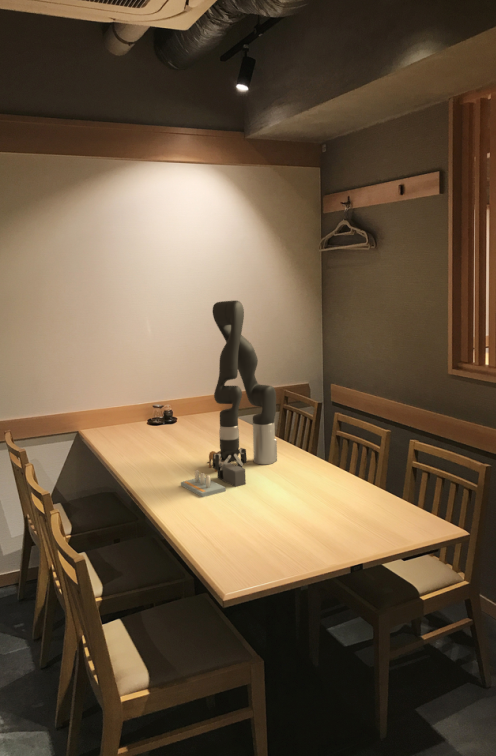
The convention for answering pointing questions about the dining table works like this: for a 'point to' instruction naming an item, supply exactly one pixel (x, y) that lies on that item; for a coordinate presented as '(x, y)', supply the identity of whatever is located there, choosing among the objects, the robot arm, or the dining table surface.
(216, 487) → the board
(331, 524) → the dining table surface
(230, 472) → the block
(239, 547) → the dining table surface
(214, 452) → the lion figurine
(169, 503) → the dining table surface
